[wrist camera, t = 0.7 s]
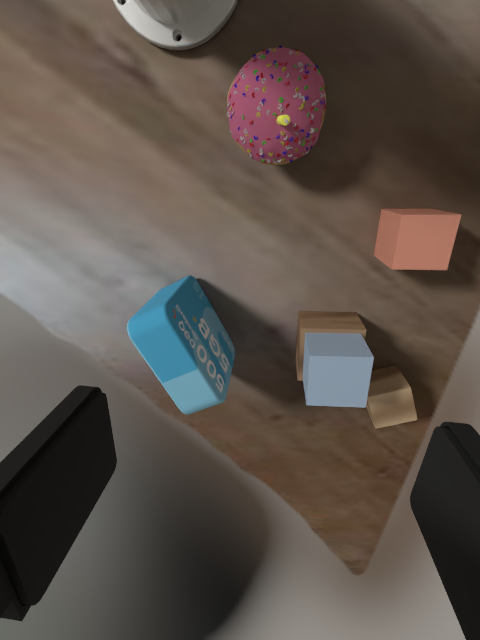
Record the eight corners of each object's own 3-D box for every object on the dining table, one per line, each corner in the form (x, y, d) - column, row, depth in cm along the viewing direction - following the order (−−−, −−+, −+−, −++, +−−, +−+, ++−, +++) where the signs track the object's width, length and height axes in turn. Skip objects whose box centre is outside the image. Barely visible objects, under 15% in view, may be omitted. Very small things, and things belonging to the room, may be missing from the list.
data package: (237, 349, 42) (224, 408, 32) (208, 360, 44) (186, 421, 33) (192, 271, 39) (160, 308, 28) (162, 286, 40) (120, 327, 29)
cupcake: (331, 143, 31) (360, 125, 21) (253, 181, 34) (243, 183, 23) (301, 45, 29) (318, -36, 18) (218, 94, 31) (188, 48, 20)
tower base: (298, 310, 39) (301, 328, 35) (355, 312, 39) (366, 329, 34) (295, 358, 42) (297, 380, 38) (348, 360, 42) (357, 383, 37)
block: (356, 373, 42) (366, 397, 38) (395, 364, 41) (410, 387, 37) (365, 402, 44) (375, 428, 39) (402, 394, 43) (417, 419, 38)
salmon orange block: (381, 208, 34) (402, 214, 28) (430, 208, 33) (461, 214, 28) (373, 255, 36) (391, 269, 30) (420, 255, 35) (446, 270, 30)
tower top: (305, 332, 35) (309, 355, 30) (360, 333, 34) (373, 357, 30) (302, 377, 37) (306, 405, 33) (354, 379, 37) (365, 407, 32)
